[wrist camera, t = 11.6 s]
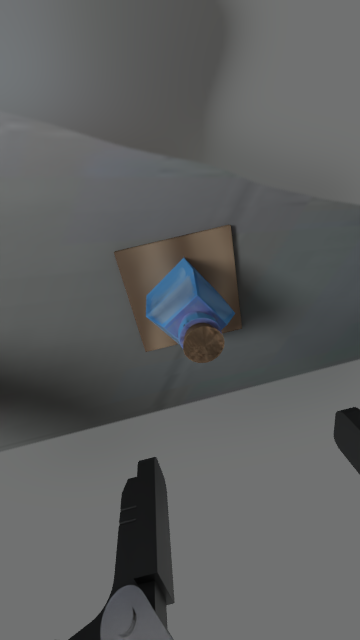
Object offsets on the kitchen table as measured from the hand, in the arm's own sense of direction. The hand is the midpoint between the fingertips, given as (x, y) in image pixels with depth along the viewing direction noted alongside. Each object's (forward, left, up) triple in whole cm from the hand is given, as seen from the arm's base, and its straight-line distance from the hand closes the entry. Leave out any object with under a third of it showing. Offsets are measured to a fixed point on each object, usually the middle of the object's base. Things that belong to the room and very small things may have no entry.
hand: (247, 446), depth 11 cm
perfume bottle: (0, 0, -21) cm, 21 cm away
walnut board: (0, 0, -21) cm, 21 cm away
